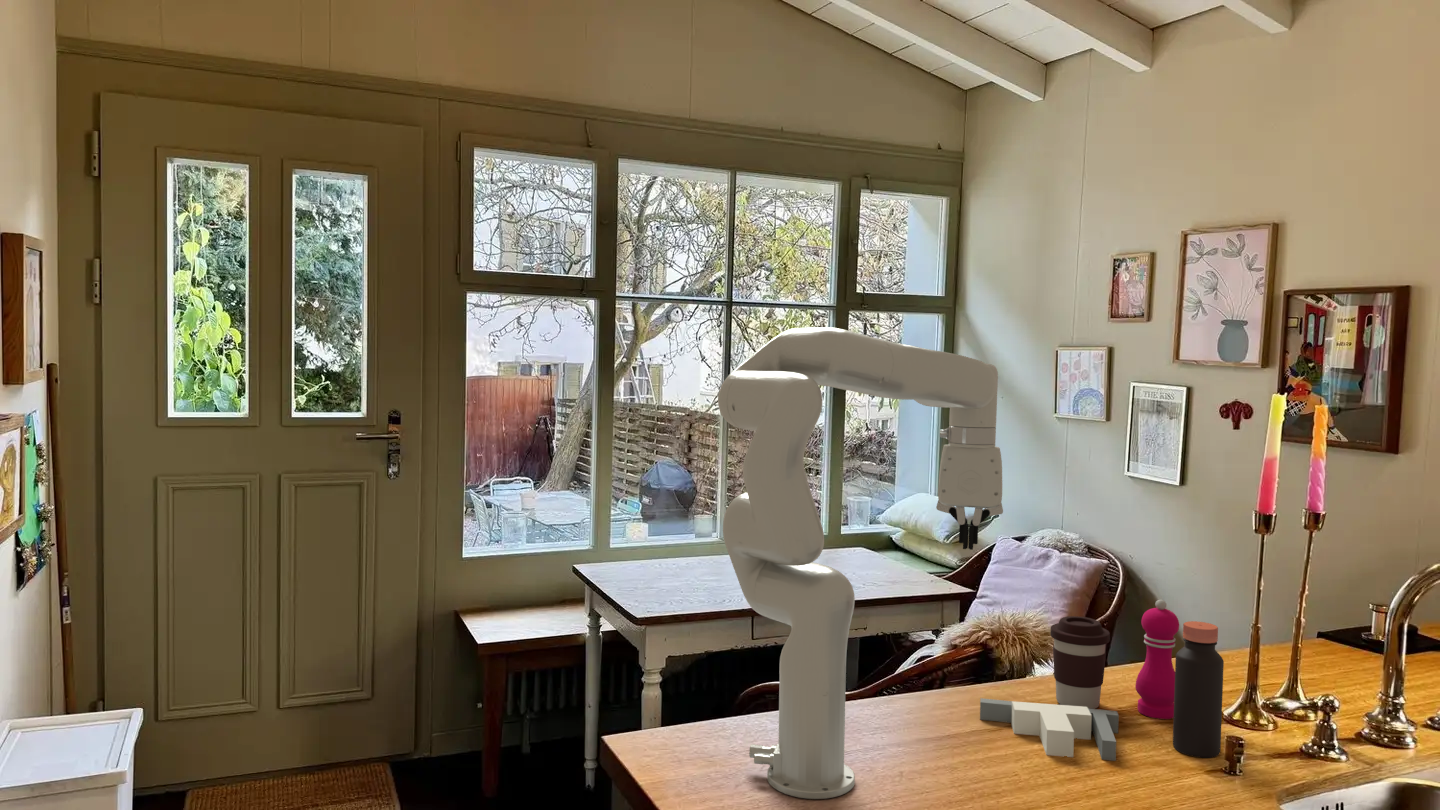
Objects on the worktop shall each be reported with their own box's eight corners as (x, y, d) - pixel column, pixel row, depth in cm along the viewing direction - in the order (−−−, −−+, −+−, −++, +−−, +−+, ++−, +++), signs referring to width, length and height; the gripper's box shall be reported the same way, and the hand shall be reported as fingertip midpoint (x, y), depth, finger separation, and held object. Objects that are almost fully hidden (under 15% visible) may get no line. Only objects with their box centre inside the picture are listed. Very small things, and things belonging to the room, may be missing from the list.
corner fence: (980, 746, 155) (981, 727, 155) (979, 715, 169) (980, 698, 168) (1129, 762, 150) (1130, 743, 150) (1116, 728, 163) (1116, 711, 163)
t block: (1019, 752, 153) (1020, 727, 153) (1011, 724, 165) (1011, 701, 164) (1100, 759, 151) (1101, 734, 150) (1086, 730, 162) (1087, 706, 162)
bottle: (1182, 738, 159) (1186, 617, 158) (1226, 750, 155) (1231, 625, 154) (1165, 749, 155) (1169, 624, 154) (1211, 762, 150) (1215, 633, 149)
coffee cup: (1112, 701, 177) (1115, 619, 176) (1101, 717, 168) (1103, 631, 168) (1056, 690, 182) (1058, 610, 181) (1042, 706, 174) (1044, 622, 173)
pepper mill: (1184, 722, 167) (1188, 606, 166) (1139, 718, 168) (1143, 603, 167) (1174, 707, 174) (1177, 596, 173) (1130, 704, 175) (1134, 593, 174)
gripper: (924, 437, 160) (920, 548, 161) (1019, 441, 156) (1015, 555, 157) (927, 434, 167) (923, 541, 168) (1018, 438, 163) (1014, 547, 164)
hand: (968, 547), depth 162 cm, fingers closed
